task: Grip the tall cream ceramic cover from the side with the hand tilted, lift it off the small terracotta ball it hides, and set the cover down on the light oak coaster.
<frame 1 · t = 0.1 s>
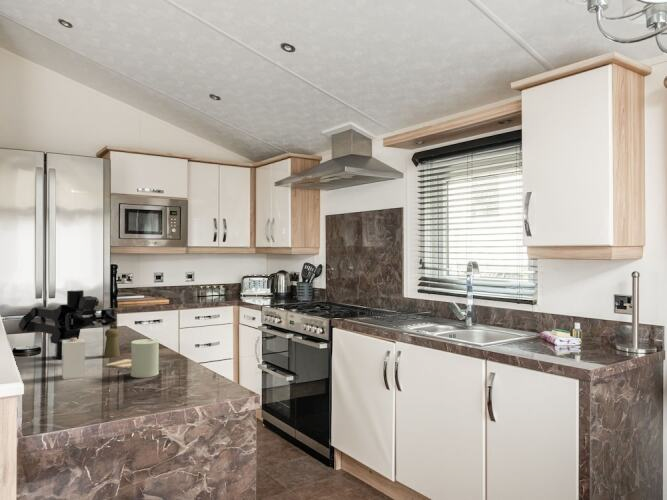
hand: (104, 321, 189), 17 cm above the countertop, tool horizontal, fingers open, 9 cm apart
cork: (112, 356, 206), on the countertop
cover: (73, 376, 174), on the countertop
coaster: (126, 364, 192), on the countertop
can: (144, 375, 178), on the countertop
ball: (73, 371, 174), in the cover
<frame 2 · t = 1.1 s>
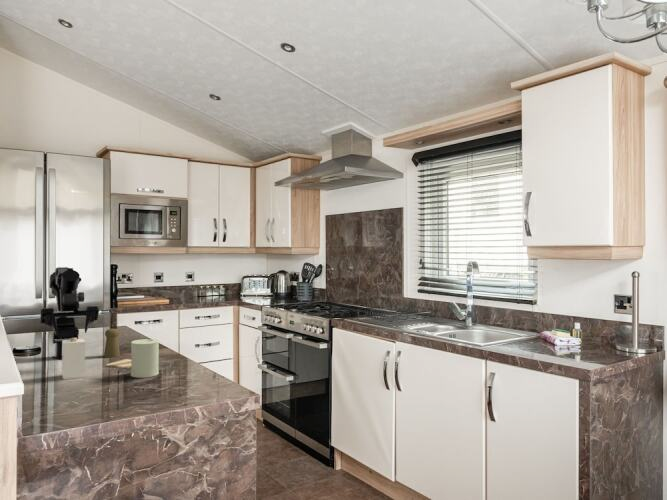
hand: (71, 333, 181), 13 cm above the countertop, tool tilted 45°, fingers open, 9 cm apart
nothing on the countertop moved.
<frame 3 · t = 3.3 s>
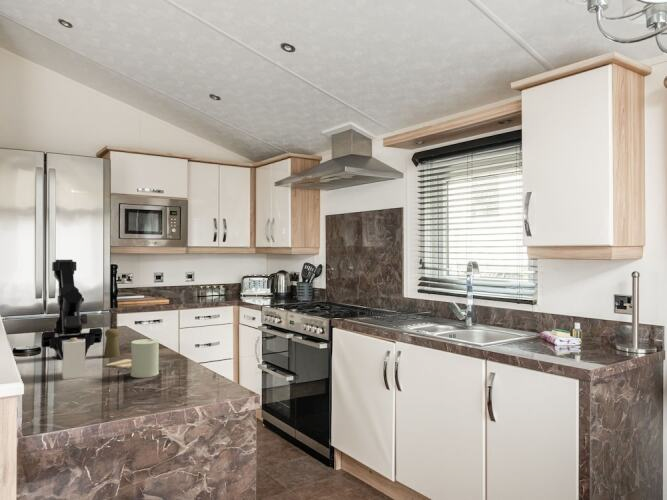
hand: (73, 357, 173), 7 cm above the countertop, tool tilted 45°, fingers closed on cover, 6 cm apart
cover: (73, 376, 174), on the countertop, touching gripper
everything else where it was.
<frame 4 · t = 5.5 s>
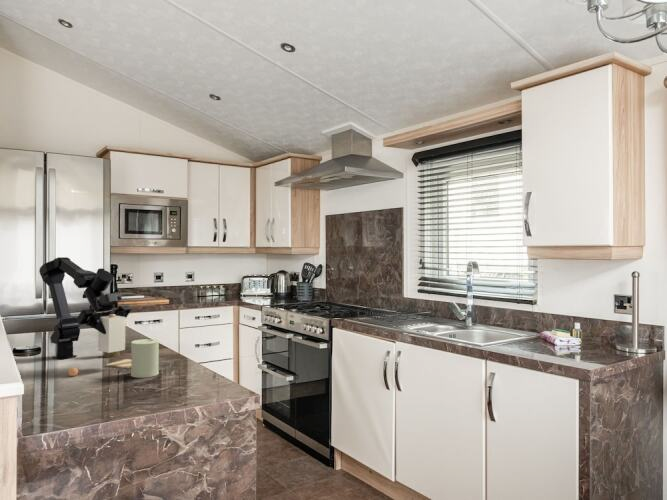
hand: (114, 332, 184), 13 cm above the countertop, tool tilted 45°, fingers closed on cover, 6 cm apart
cover: (111, 350, 185), point 7 cm above the countertop, touching gripper
everything else where it was.
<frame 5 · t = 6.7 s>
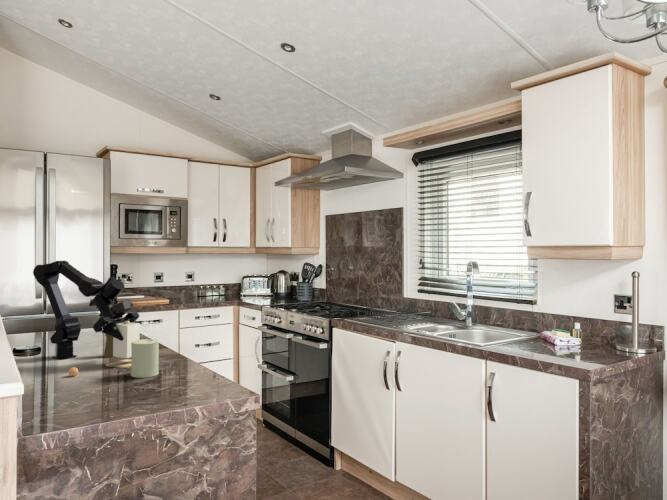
hand: (129, 338, 192), 10 cm above the countertop, tool tilted 45°, fingers closed on cover, 6 cm apart
cover: (126, 355, 192), point 3 cm above the countertop, touching gripper
everything else where it was.
when the fingers open (8 cm above the countertop, at t = 7.5 s): cover stays where it is, resting on coaster.
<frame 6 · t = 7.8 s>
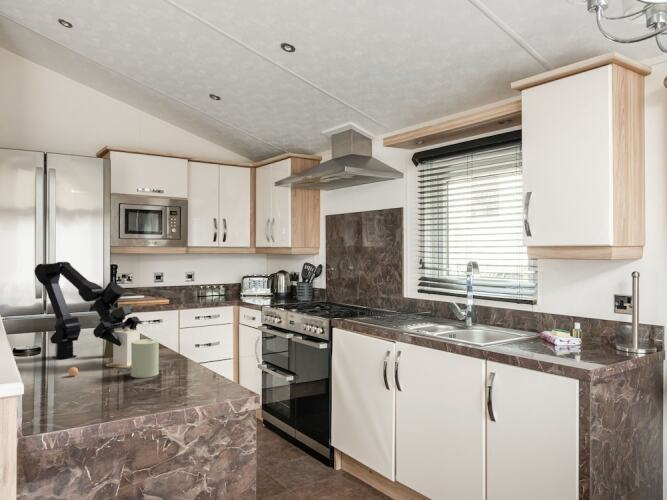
hand: (129, 343, 191), 8 cm above the countertop, tool tilted 45°, fingers open, 9 cm apart
cover: (126, 362, 192), point 1 cm above the countertop, touching coaster
everything else where it was.
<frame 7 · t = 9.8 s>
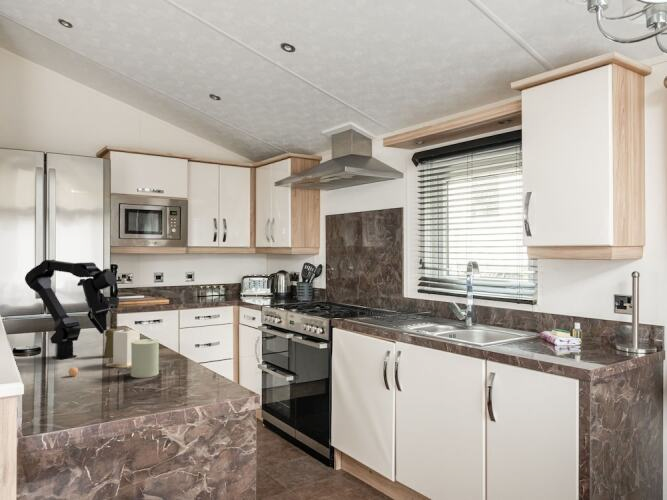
hand: (103, 331, 196), 11 cm above the countertop, tool tilted 20°, fingers open, 9 cm apart
nothing on the countertop moved.
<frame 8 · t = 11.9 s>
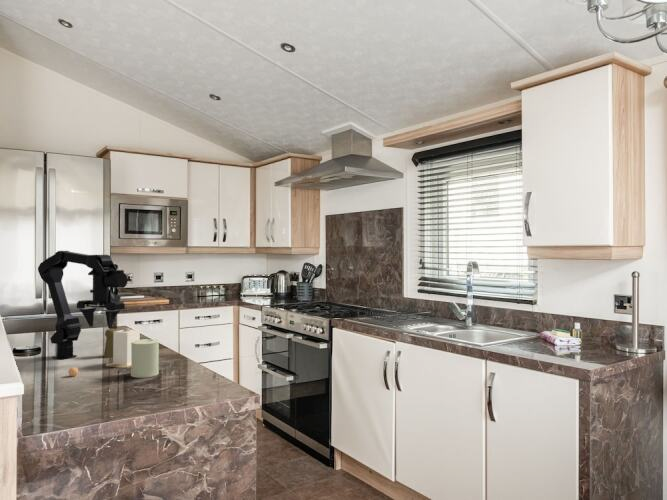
hand: (100, 327, 197), 13 cm above the countertop, tool pointing down, fingers open, 9 cm apart
nothing on the countertop moved.
at the end: cover inside the target area on the coaster (0.0 cm from its centre), point 0.6 cm above the coaster's base; cover tilted 0°; cover moved 21.0 cm from its start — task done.
